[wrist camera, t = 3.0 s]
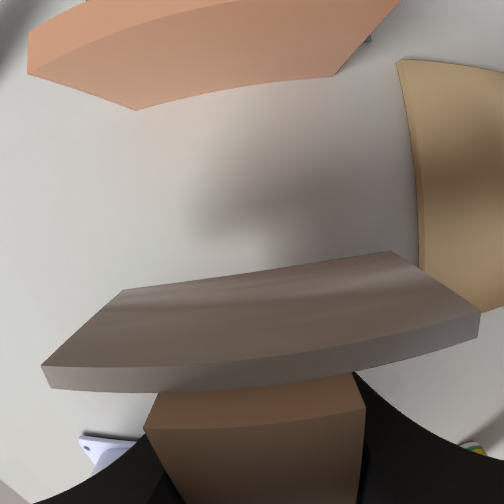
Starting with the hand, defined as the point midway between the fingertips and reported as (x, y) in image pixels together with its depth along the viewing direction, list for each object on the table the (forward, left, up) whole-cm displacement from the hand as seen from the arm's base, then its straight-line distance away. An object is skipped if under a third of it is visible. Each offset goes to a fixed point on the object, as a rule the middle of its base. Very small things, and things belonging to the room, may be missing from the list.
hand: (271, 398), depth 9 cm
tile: (+11, 0, -5) cm, 12 cm away
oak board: (+5, -13, -5) cm, 15 cm away
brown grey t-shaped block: (+1, 0, -2) cm, 2 cm away
